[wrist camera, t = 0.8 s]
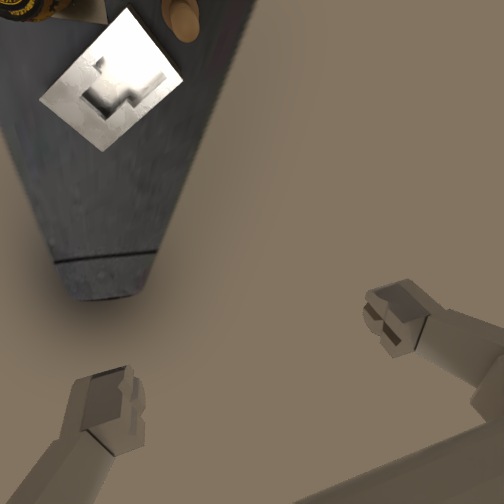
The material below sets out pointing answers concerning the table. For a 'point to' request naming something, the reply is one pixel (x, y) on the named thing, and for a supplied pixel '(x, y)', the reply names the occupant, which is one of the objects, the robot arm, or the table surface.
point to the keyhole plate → (113, 81)
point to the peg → (182, 18)
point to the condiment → (54, 10)
